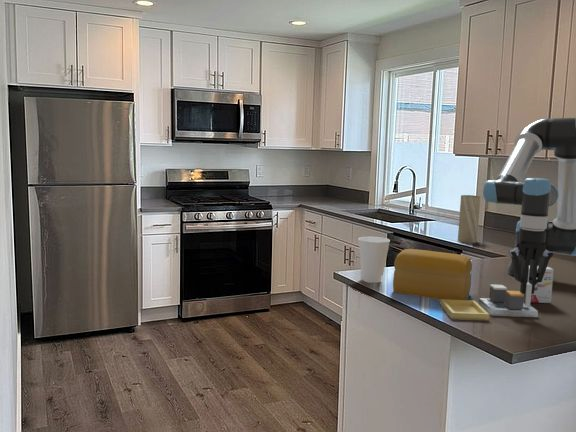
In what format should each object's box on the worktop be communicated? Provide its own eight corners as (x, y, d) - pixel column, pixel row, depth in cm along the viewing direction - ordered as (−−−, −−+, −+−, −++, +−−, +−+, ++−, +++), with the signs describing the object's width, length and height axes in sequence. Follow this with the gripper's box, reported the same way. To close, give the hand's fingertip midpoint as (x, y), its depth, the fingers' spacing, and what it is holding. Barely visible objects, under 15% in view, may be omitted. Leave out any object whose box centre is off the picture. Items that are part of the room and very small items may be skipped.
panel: (521, 305, 176) (522, 299, 176) (537, 317, 165) (538, 310, 164) (478, 304, 177) (479, 297, 176) (491, 315, 165) (492, 308, 165)
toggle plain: (501, 298, 176) (502, 284, 175) (505, 302, 172) (507, 288, 171) (489, 298, 176) (490, 284, 175) (493, 301, 172) (494, 287, 171)
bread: (391, 292, 188) (394, 250, 186) (402, 284, 199) (404, 244, 197) (463, 304, 177) (467, 259, 175) (470, 294, 188) (473, 252, 186)
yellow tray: (474, 306, 174) (474, 300, 174) (488, 320, 160) (489, 314, 160) (440, 305, 174) (440, 299, 174) (451, 319, 160) (452, 312, 160)
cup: (392, 279, 205) (394, 238, 203) (381, 286, 195) (383, 243, 193) (363, 275, 211) (365, 235, 209) (351, 281, 201) (353, 239, 199)
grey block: (517, 305, 169) (518, 291, 168) (522, 309, 165) (524, 294, 164) (504, 304, 169) (505, 290, 168) (509, 308, 165) (510, 294, 164)
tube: (479, 243, 289) (483, 197, 285) (461, 242, 289) (464, 196, 285) (473, 239, 299) (476, 195, 295) (455, 239, 299) (458, 194, 295)
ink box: (525, 302, 180) (528, 268, 178) (519, 298, 185) (522, 265, 183) (551, 303, 180) (555, 269, 178) (544, 299, 185) (547, 265, 183)
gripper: (548, 227, 167) (541, 300, 170) (506, 226, 167) (500, 299, 170) (560, 231, 159) (552, 308, 163) (516, 230, 160) (509, 306, 163)
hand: (526, 303), depth 167 cm, fingers closed
